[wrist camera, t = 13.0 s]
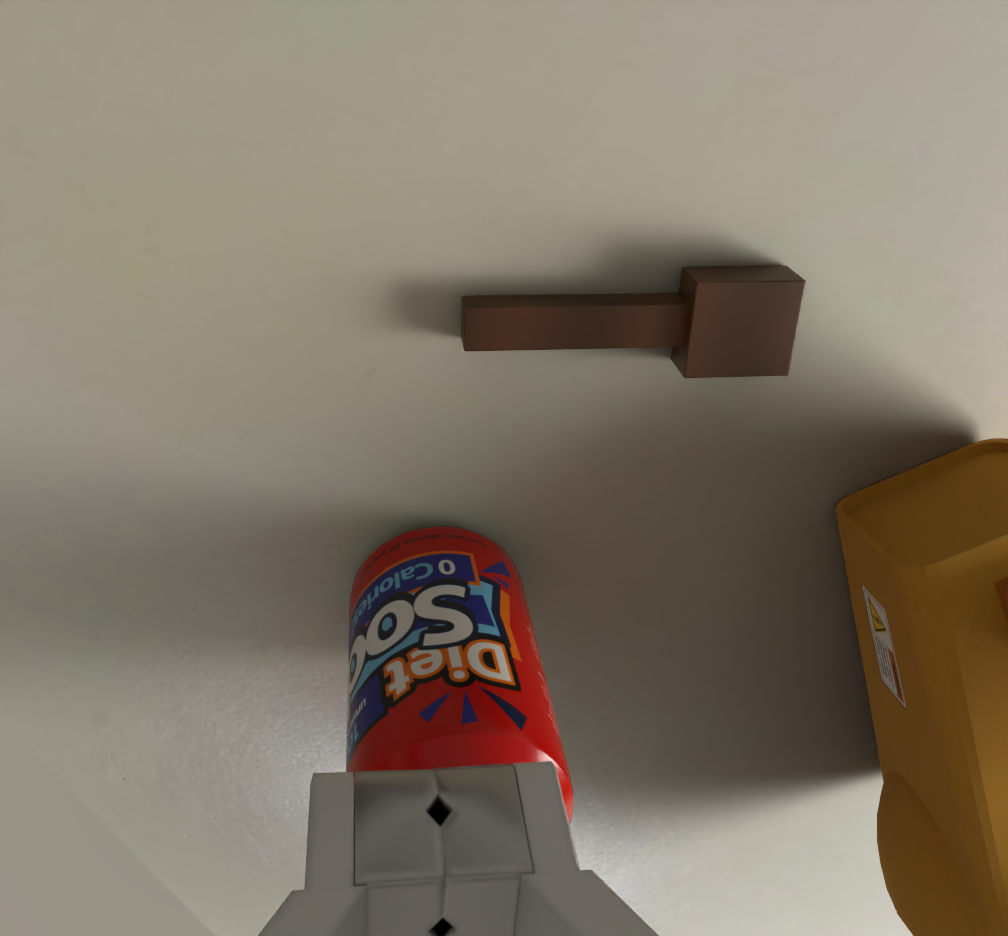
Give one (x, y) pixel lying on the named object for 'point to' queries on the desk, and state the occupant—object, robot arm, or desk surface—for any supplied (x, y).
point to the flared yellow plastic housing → (938, 682)
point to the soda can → (446, 660)
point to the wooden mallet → (658, 321)
